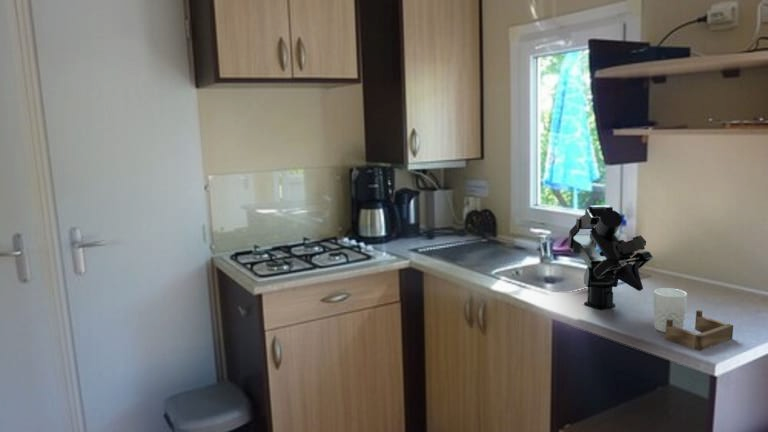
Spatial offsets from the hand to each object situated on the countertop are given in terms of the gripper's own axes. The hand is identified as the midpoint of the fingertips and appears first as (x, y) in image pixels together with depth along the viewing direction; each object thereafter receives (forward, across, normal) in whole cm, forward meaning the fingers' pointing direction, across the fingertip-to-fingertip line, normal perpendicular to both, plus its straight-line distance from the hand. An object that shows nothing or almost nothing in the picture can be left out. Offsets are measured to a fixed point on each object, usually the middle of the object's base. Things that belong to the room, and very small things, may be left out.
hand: (641, 289), depth 161 cm
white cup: (+12, 0, 0) cm, 12 cm away
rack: (+18, 0, -6) cm, 19 cm away
